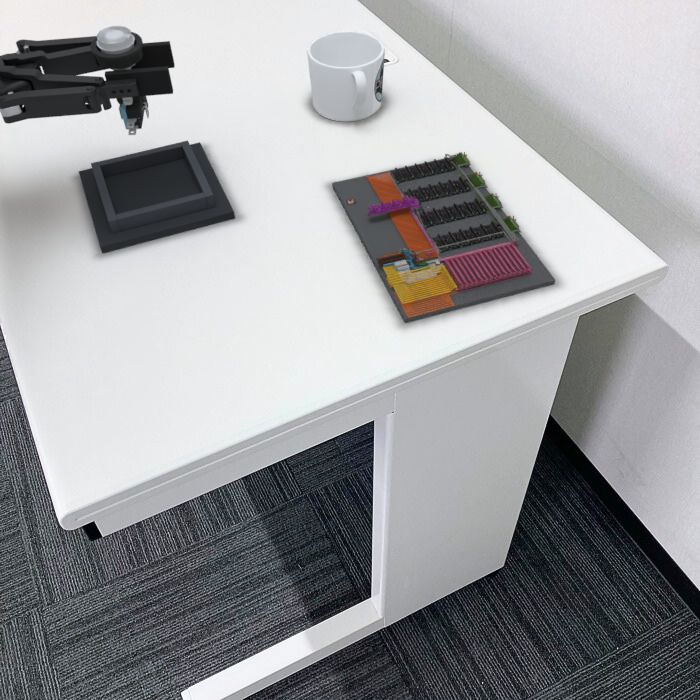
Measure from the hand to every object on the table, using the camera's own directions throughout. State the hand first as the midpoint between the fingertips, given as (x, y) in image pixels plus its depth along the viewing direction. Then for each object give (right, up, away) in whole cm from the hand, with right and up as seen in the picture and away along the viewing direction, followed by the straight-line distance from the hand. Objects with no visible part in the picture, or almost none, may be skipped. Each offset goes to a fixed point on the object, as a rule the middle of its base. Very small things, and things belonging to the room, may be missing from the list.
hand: (170, 67), depth 80 cm
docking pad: (-5, -12, +12) cm, 18 cm away
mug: (+19, +4, +25) cm, 32 cm away
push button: (-5, -5, +4) cm, 8 cm away
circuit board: (+29, -17, +7) cm, 35 cm away
